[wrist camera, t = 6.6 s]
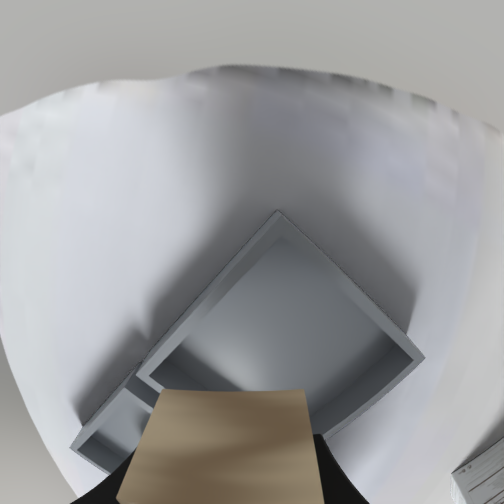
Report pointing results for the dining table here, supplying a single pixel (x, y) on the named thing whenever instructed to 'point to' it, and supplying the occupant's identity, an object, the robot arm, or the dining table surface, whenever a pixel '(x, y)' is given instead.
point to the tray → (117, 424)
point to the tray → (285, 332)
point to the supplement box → (481, 478)
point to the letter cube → (225, 450)
